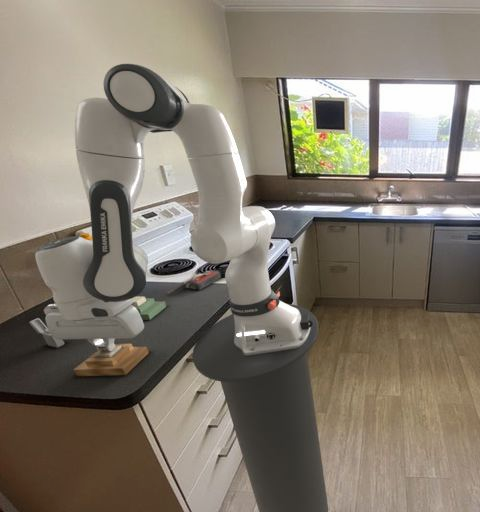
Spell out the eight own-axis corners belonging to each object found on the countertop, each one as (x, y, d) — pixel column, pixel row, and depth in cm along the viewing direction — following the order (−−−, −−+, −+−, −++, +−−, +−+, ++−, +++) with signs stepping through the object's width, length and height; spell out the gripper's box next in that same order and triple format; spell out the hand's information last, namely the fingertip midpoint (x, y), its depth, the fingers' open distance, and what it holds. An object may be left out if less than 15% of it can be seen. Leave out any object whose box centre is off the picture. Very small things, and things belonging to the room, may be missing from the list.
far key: (146, 301, 98) (144, 296, 97) (138, 307, 95) (136, 301, 94) (135, 301, 98) (133, 296, 97) (127, 307, 95) (125, 302, 94)
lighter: (65, 343, 83) (52, 320, 80) (57, 347, 82) (44, 324, 79) (48, 339, 85) (35, 317, 82) (40, 343, 84) (27, 320, 80)
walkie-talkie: (208, 274, 125) (164, 297, 108) (205, 265, 124) (161, 286, 106) (224, 276, 123) (183, 300, 105) (222, 267, 121) (179, 289, 104)
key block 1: (148, 353, 80) (144, 341, 78) (125, 375, 72) (120, 362, 71) (104, 354, 79) (99, 342, 78) (76, 376, 72) (70, 363, 70)
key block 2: (166, 306, 101) (163, 296, 100) (150, 319, 94) (146, 309, 93) (132, 307, 101) (128, 297, 100) (112, 320, 94) (108, 310, 92)
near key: (123, 351, 76) (120, 345, 76) (112, 361, 73) (109, 354, 72) (109, 351, 76) (107, 345, 76) (97, 361, 73) (94, 355, 72)
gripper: (26, 311, 66) (53, 359, 71) (117, 310, 66) (137, 357, 71) (55, 297, 71) (78, 342, 77) (138, 296, 72) (155, 341, 77)
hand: (107, 349), depth 74 cm, fingers closed, pressing on near key
